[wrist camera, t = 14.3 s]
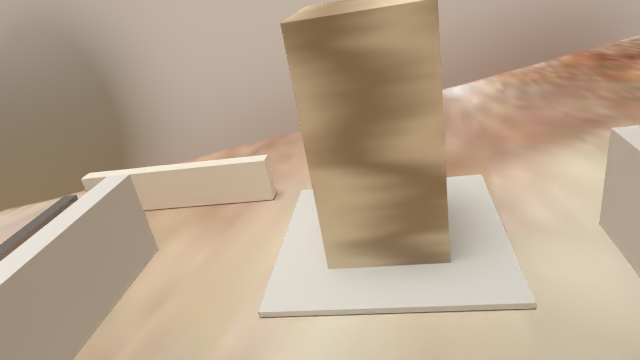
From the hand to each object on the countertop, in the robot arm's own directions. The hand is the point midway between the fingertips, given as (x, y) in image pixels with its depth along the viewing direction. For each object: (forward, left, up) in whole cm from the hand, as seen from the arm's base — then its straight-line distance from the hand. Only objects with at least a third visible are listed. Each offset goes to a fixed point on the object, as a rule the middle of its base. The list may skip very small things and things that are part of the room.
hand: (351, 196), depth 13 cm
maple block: (0, -10, -8) cm, 13 cm away
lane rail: (+15, -16, -8) cm, 23 cm away
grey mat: (0, -10, -8) cm, 13 cm away
